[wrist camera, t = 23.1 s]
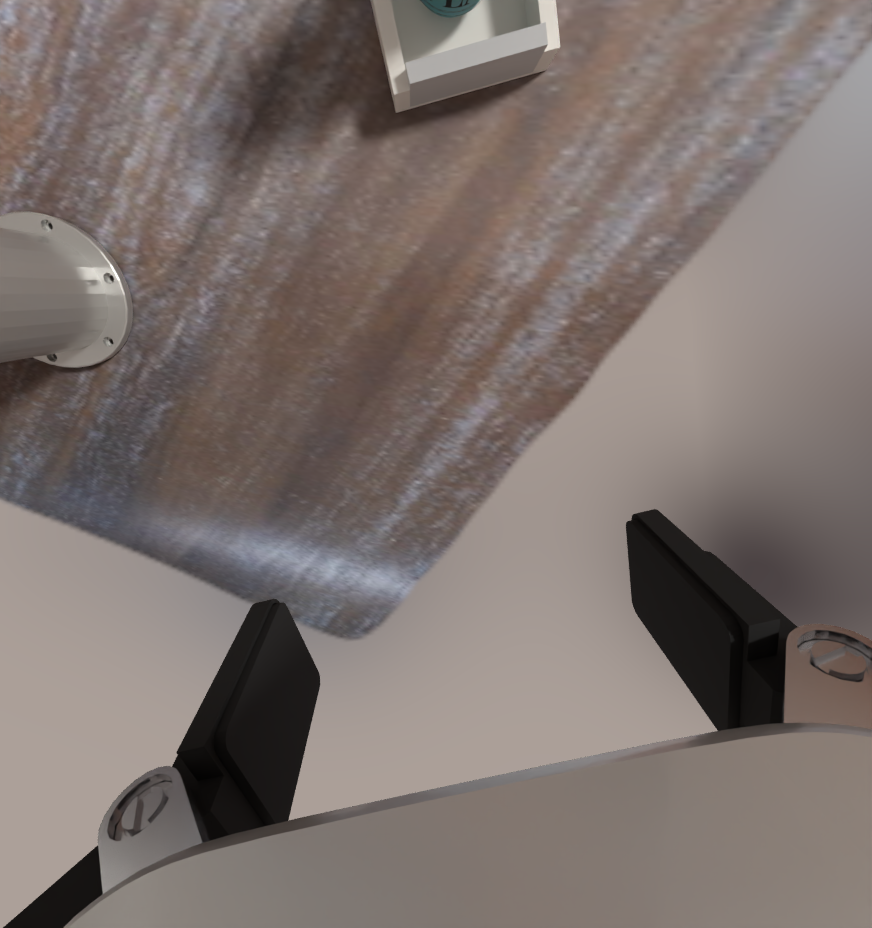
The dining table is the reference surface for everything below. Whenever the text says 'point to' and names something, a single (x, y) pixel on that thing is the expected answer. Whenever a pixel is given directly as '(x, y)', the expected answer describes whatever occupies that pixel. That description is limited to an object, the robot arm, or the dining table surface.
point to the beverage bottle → (450, 7)
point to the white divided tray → (462, 47)
